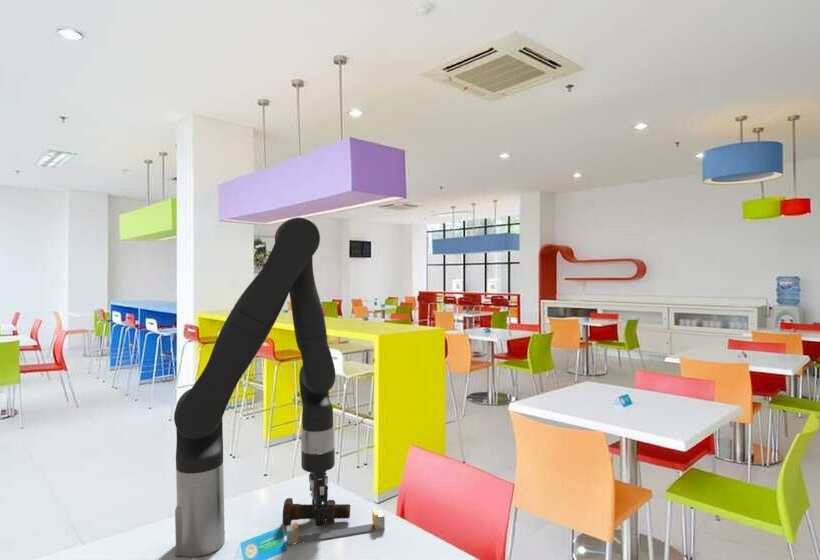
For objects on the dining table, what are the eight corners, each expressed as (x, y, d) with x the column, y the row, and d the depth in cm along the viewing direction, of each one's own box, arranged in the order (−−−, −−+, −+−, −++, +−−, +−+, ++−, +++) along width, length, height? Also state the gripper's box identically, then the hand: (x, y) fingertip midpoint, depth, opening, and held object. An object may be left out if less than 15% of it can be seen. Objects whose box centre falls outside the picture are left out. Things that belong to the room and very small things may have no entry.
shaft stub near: (287, 545, 106) (287, 529, 106) (286, 539, 109) (286, 523, 109) (298, 543, 107) (297, 527, 107) (297, 537, 109) (296, 521, 109)
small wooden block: (375, 530, 112) (374, 515, 112) (372, 525, 114) (372, 510, 114) (384, 529, 113) (384, 513, 113) (381, 523, 115) (381, 508, 115)
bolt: (349, 529, 116) (283, 529, 115) (350, 509, 120) (286, 509, 119) (349, 513, 113) (281, 514, 112) (350, 493, 117) (285, 494, 116)
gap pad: (298, 544, 107) (298, 542, 107) (297, 537, 110) (297, 536, 110) (374, 531, 112) (374, 529, 112) (371, 525, 114) (371, 523, 114)
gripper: (298, 438, 121) (299, 507, 122) (304, 459, 108) (305, 537, 108) (329, 435, 124) (330, 503, 124) (339, 455, 110) (340, 532, 110)
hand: (318, 518), depth 116 cm, fingers closed on bolt, 5 cm apart
